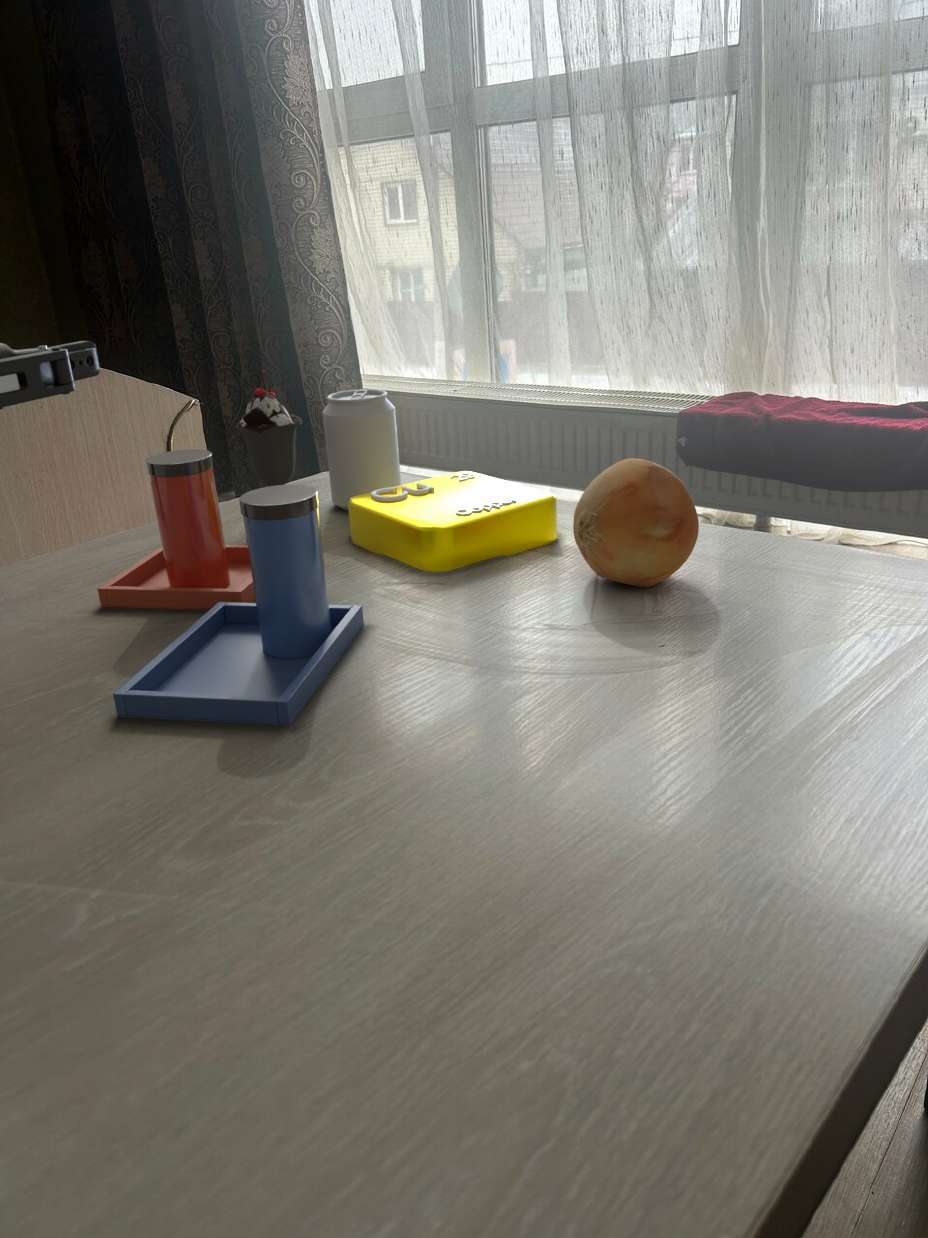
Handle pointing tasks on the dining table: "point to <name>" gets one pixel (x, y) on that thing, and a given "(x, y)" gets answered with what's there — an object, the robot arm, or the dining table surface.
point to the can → (360, 444)
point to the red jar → (189, 518)
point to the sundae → (269, 437)
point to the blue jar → (287, 569)
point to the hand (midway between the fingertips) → (45, 356)
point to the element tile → (452, 520)
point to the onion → (636, 523)
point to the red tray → (152, 590)
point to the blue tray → (233, 671)
